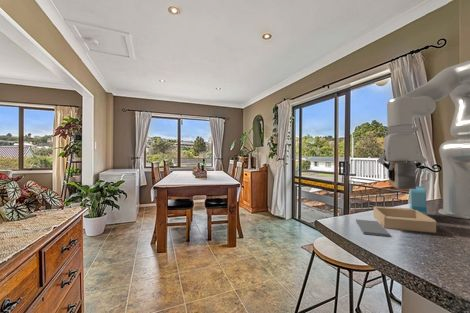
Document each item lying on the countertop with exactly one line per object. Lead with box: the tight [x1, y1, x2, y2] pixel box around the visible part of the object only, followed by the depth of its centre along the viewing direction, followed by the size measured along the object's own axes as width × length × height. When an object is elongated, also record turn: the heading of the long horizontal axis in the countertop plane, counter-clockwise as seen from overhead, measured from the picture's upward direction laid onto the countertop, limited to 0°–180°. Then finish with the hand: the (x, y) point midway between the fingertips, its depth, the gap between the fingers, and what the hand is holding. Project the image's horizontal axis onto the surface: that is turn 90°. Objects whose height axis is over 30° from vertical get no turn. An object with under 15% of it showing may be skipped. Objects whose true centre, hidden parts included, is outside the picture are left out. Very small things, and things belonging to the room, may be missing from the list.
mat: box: [355, 218, 390, 238], centre depth 73 cm, size 7×14×1 cm, turn 159°
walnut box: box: [388, 162, 417, 190], centre depth 78 cm, size 5×10×9 cm, turn 159°
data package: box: [409, 185, 428, 216], centre depth 87 cm, size 12×4×12 cm, turn 141°
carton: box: [373, 205, 438, 234], centre depth 77 cm, size 14×18×4 cm
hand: (401, 180), depth 78 cm, fingers closed on walnut box, 5 cm apart
